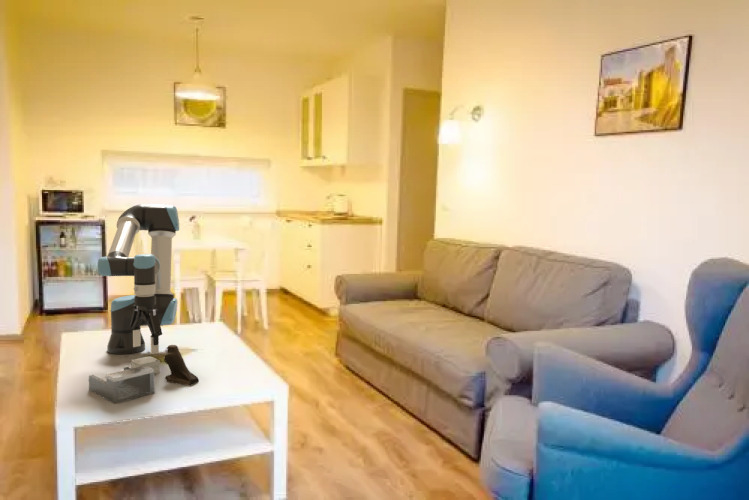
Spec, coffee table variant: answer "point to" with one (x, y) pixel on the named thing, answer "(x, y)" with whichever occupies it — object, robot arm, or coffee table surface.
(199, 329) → the coffee table surface
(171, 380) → the sculpture
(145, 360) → the small box
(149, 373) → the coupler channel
